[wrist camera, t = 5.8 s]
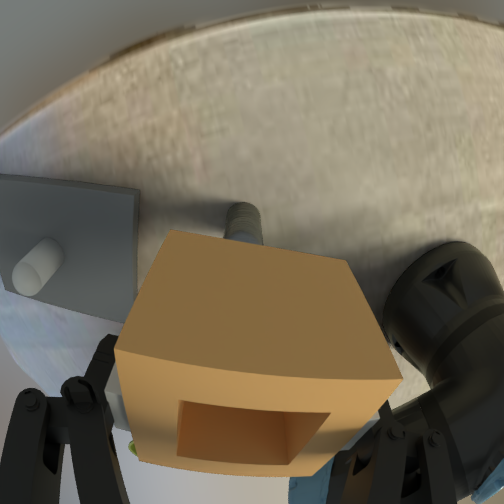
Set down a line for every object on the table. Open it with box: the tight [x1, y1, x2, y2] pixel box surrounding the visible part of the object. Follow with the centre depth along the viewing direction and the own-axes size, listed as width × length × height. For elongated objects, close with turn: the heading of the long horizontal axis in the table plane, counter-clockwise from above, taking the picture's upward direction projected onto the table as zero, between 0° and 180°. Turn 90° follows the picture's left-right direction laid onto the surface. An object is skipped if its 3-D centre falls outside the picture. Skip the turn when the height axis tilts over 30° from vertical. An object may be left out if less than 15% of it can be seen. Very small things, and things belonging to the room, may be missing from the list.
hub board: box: [0, 174, 140, 323], centre depth 23 cm, size 18×14×8 cm
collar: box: [114, 230, 403, 477], centre depth 12 cm, size 8×8×7 cm
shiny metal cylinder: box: [223, 202, 263, 245], centre depth 22 cm, size 3×3×8 cm
